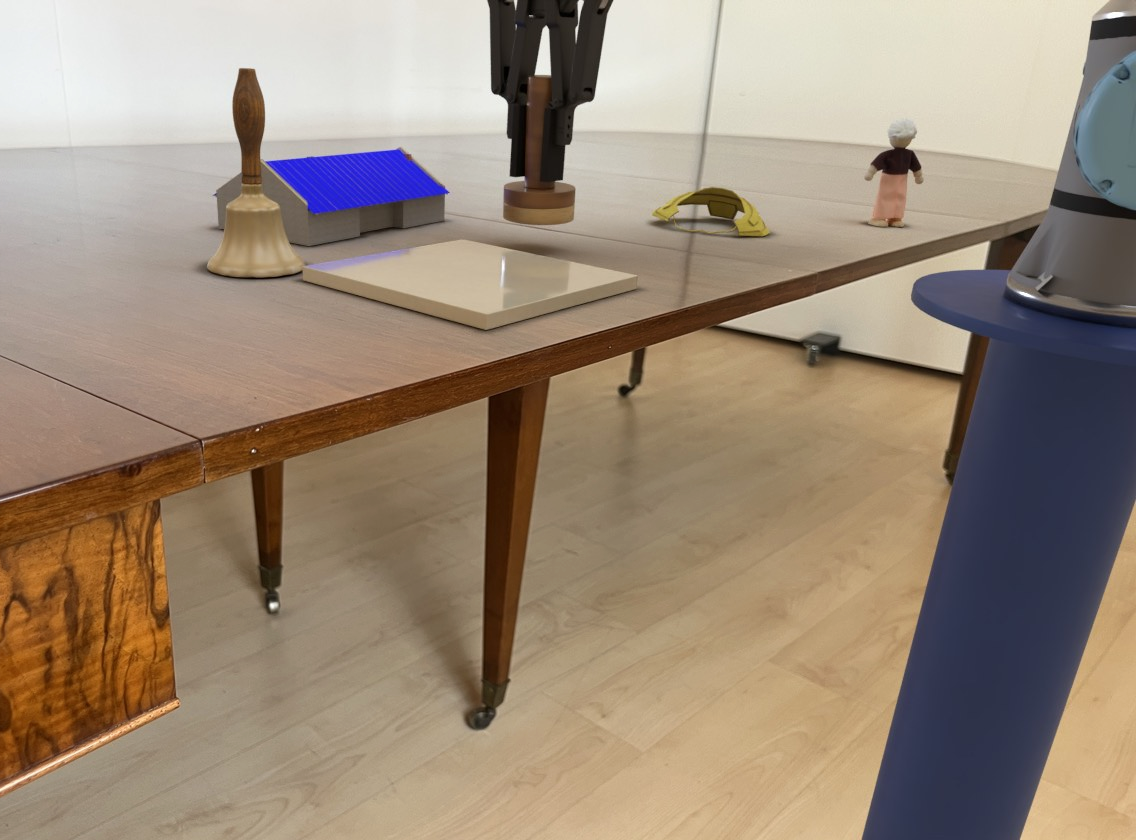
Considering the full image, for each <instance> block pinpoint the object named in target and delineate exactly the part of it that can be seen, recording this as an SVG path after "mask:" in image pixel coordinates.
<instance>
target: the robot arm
mask: <svg viewBox="0 0 1136 840" xmlns="http://www.w3.org/2000/svg"><path fill="white" fill-rule="evenodd" d="M579 1H580V0H516V4H515V0H486V2H487V5H488V8H489V9H488V10H489V48H490V50H489V53H490V55H489V57H490V58H489V60H490V91H491V93H492V94H493V95H496V96H499V97H501V98H503V99H504V100H505V101H506V103H507V116H506V117H507V118H506V122H507V123H506V136H507V139H508V140H511V142H510V157H509V158H510V161H509V177H511V178H521V177H522V178H523V177H525V144H526V111H527V79H528V76H529V75H536V69H537V66H538V65H537V64H538V59H539V52H540V48H541V47H540V46H541V42H542V41H541V40H542V35H543V30H544V28H546V27H547V29H548V39H549V41H548V42H549V61H550V62H549V63H550V75H551V88H552V102H547V104H548V106H549V107H550V108H545V109H544V124H543V139H542V154H541V170H540V181H542V182H552V181H555V182H560V181H563V180H564V171H565V159H566V146H570V145H571V143H572V141H573V132H574V119H575V112H576V109H577V108H578V106H580V105H583V104H586V103H592V102H593V101H594V99H595V96H596V91H597V84H598V77H599V70H600V65H601V59H602V51H603V46H604V45H603V44H604V39H605V34H606V33H605V32H606V25H607V19H608V14H609V12H610V9H611V7H612V5H613V3H614V0H582V1H583V3H582V6H581V9H580V14H579ZM576 29H577V30H576ZM576 31H577V33H576ZM576 34H577V35H576ZM1085 57H1086V58H1085V62H1083V68H1082V75H1083V77H1082V81H1081V85H1080V88H1079V92H1078V96H1077V100H1076V103H1075V107H1074V111H1073V114H1072V119H1071V122H1070V126H1069V130H1068V134H1067V137H1066V140H1065V145H1064V149H1063V152H1062V156H1061V159H1060V164H1059V167H1058V171H1057V173H1056V177H1055V182H1054V186H1053V190H1052V194H1051V198H1050V200H1049V205H1048V208H1047V212H1046V214H1045V215H1044V218H1043V220H1042V221H1041V223H1040V224H1039V226H1038V227H1037V229H1036V231H1035V232H1034V233H1033V235H1032V237H1031V238H1030V240H1029V241H1028V242H1027V245H1026V246H1025V248H1024V249H1023V251H1022V252H1021V254H1020V256H1019V257H1018V258H1017V261H1016V262H1015V264H1014V265H1013V266H1012V269H1010V270H1011V272H1010V273H1009V274H1008V278H1007V282H1006V286H1005V290H1004V294H1003V295H1004V297H1005V298H1006V299H1007V300H1009V301H1010V302H1012V303H1014V304H1016V305H1019V306H1021V307H1024V308H1027V309H1030V310H1033V311H1036V312H1040V313H1043V314H1047V315H1051V316H1055V317H1060V318H1065V319H1069V320H1075V321H1080V322H1086V323H1092V324H1099V325H1106V326H1114V327H1124V328H1136V0H1108V2H1106V3H1105V4H1104V5H1103V6H1102V7H1101V8H1099V10H1098V11H1096V13H1094V14H1093V15H1092V16H1091V24H1090V31H1089V37H1088V44H1087V49H1086V56H1085Z"/></svg>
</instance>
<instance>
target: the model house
mask: <svg viewBox="0 0 1136 840" xmlns="http://www.w3.org/2000/svg"><path fill="white" fill-rule="evenodd" d="M260 159H261V172H262V174H261V177H262V183H261V184H262V190H263V194H264V195H265V196H266V197H267V198H268V199H270V200H272V201H274V202H276V203H277V204H278V205H279V206H280V210H281V217H282V222H283V227H284V230H285V234H286V237H287V239H288V241H289V243H291V244H297V245H302V246H306V247H311V246H317V245H323V244H327V243H333V242H338V241H343V240H348V239H354V238H359V237H361V233H366V232H372V231H376V230H377V231H378V230H382V229H388V228H399V229H406V228H407V229H408V228H413V227H418V226H422V225H428V224H434V223H438V222H439V223H440V222H443V221H445V213H446V211H445V210H446V208H445V207H446V195H448V194H451V192H450V191H449V190H448V189H446V185H444V183H442V182H441V180H439V179H438V178H437V177H436V176H434V174H432V172H431V171H429V170H428V169H427V168H426V167H425V166H423V164H421V163H420V162H419V161H418V160H417V158H414V156H412V154H411V153H409V152H408V151H407V150H406V149H405V148H404V147H403V146H399V147H397V148H396V149H388V150H377V151H376V150H375V151H367V152H353V153H343V154H342V153H341V154H333V155H322V156H320V155H319V156H313V155H311V156H306V157H299V158H298V157H297V158H287V159H279V160H278V159H277V160H276V159H275V160H264V159H263V158H260ZM242 176H243V175H242V172H241V171H240V172H239V173H238V174H237V175H236V176H234V177H233V178H231V179H230V180H228V181H227V182H226V183H224V184H223V185H222V186H221V187H218V188H217V189H216V190H215V191H216V193H214V194H213V195H212V197H215V198H216V208H217V224H218V229H219V230H220V229H221V230H224V229H225V221H226V206H227V204H228V203H230V202H232V201H233V200H235V199H236V198H238V197H239V196H240V195H241V193H242V181H241V177H242Z"/></svg>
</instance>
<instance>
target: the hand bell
mask: <svg viewBox="0 0 1136 840" xmlns="http://www.w3.org/2000/svg"><path fill="white" fill-rule="evenodd" d="M256 72H257V71H256V69H255V68H249V67H248V68H247V67H239V68H238V73H237V79H236V82H235V85H234V90H233V94H232V103H231V104H232V105H231V108H232V121H233V126H234V130H235V135H236V137H237V140H238V144H239V148H240V156H241V157H240V158H241V159H240V160H241V163H240V164H241V165H240V166H241V169H240V173H241V172H242V175H243V176H242V177H241V181H242V193H241V195H240V196H239V197H238V198H236V199H235V200H233V201H232V202H230V203H228V204H227V206H226V221H225V229H223V236H222V239H221V242H220V244H219V247H218V248H217V250H216V252H215V253H214V255H213V256H212V257H210V259H209V260H208V262H207V265H206V268H207V270H208V271H209V272H211V273H214V274H217V275H220V276H225V277H226V276H227V277H233V278H234V277H235V278H276V277H281V276H288V275H294V274H297V273H300V272H303V269H302V267H303V266H307V265H306V263H305V261H304V259H303V257H301V256H300V255H298V253H296V252H295V250H294V248H293V246H292V245H291V244H290V243H291V242H289V241H288V239H287V237H286V234H285V230H284V227H283V222H282V217H281V210H280V206H279V205H278V204H277V203H276V202H274V201H272V200H270V199H268V198H267V197H266V196H265V195H264V194H263V190H262V184H261V183H262V177H261V174H262V172H261V159H262V158H261V146H262V142H263V138H264V135H265V134H264V133H265V126H266V105H265V100H264V94H263V92H262V88H261V86H260V83H259V80H258V77H257V73H256Z"/></svg>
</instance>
